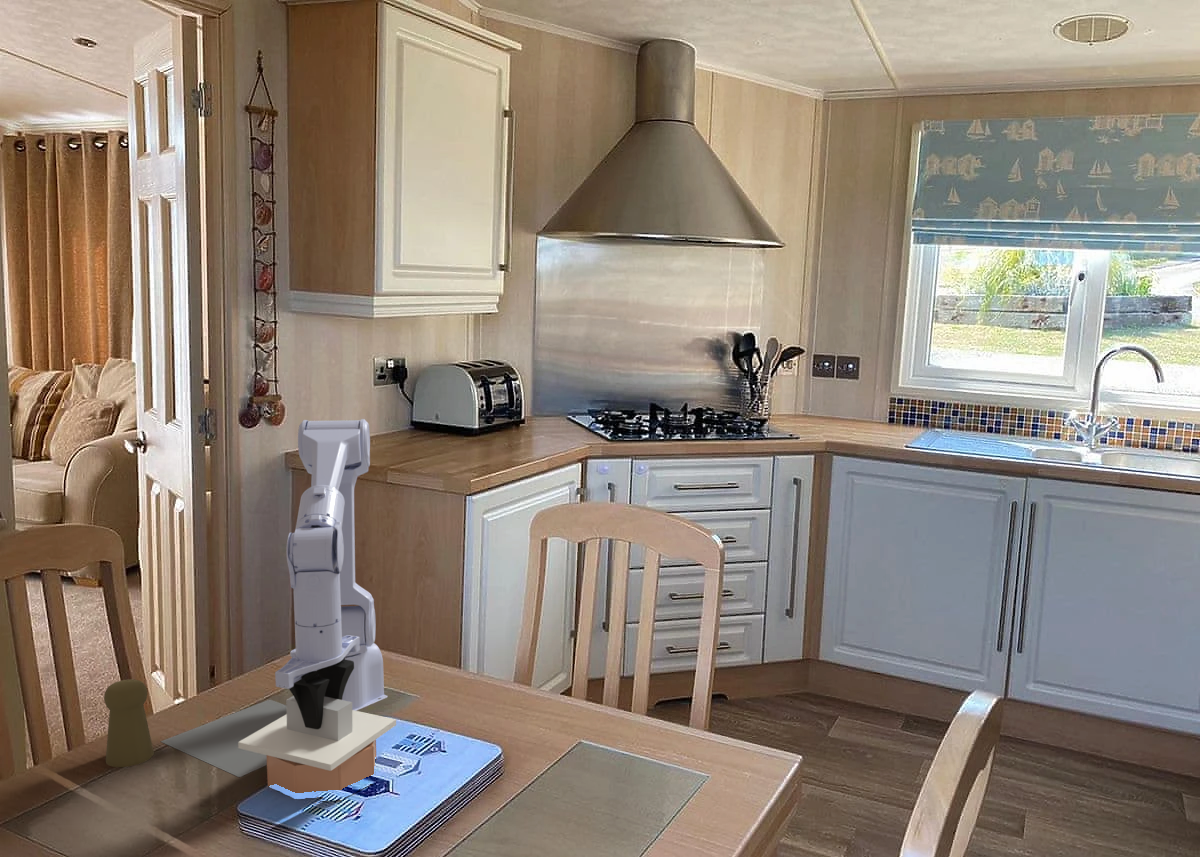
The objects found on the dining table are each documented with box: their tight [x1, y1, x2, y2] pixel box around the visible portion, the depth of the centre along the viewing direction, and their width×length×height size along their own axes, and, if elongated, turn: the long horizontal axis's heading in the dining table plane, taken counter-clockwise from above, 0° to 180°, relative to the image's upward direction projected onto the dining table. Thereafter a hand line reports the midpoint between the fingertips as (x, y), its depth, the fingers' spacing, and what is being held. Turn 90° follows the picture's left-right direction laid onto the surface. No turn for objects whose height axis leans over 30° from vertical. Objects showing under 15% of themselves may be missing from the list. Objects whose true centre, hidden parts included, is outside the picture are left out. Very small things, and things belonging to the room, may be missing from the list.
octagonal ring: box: [266, 739, 377, 793], centre depth 129 cm, size 13×13×5 cm
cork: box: [103, 678, 155, 768], centre depth 133 cm, size 6×6×11 cm
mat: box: [160, 699, 287, 778], centre depth 141 cm, size 18×18×1 cm
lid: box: [238, 695, 397, 771], centre depth 129 cm, size 14×14×5 cm
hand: (321, 721), depth 129 cm, fingers closed on lid, 3 cm apart
